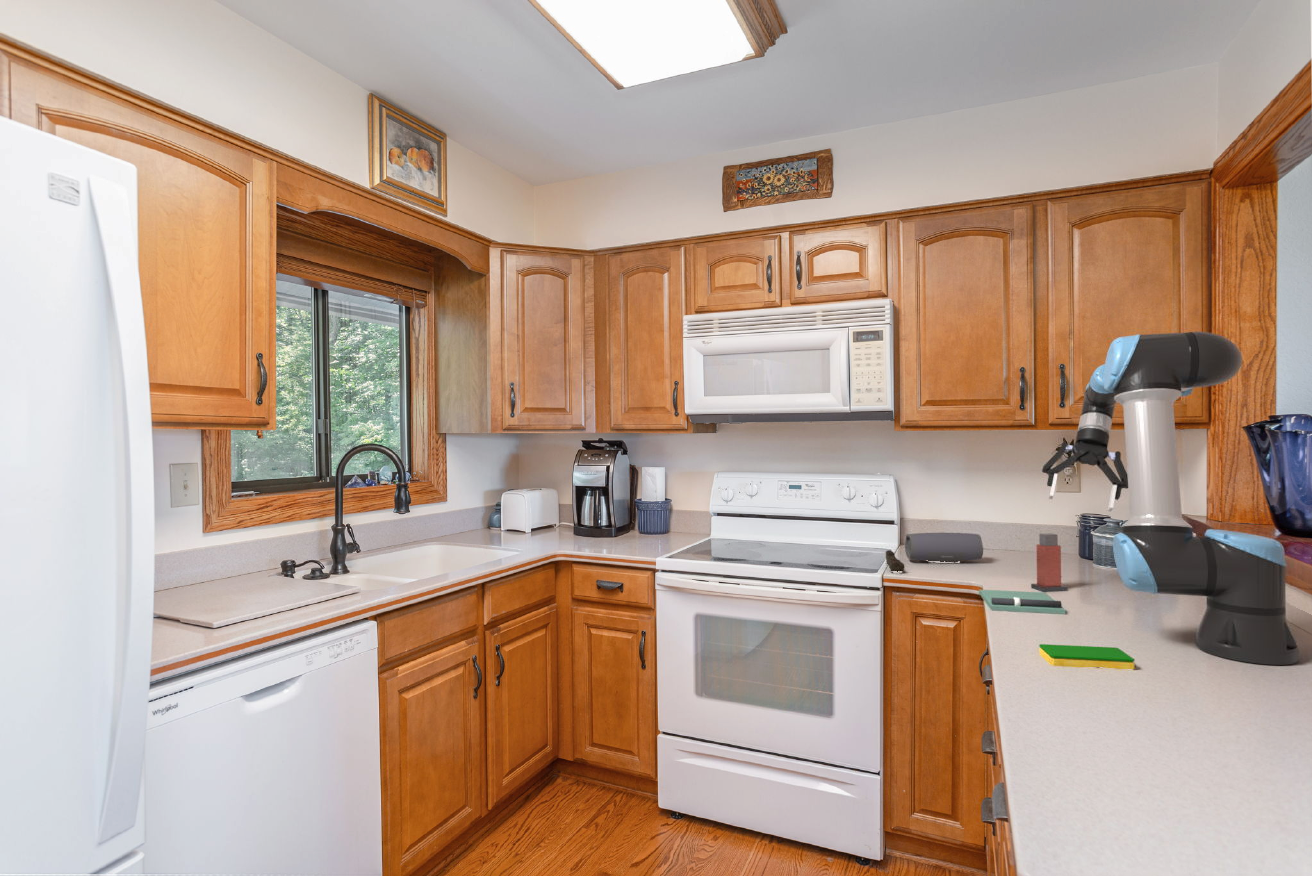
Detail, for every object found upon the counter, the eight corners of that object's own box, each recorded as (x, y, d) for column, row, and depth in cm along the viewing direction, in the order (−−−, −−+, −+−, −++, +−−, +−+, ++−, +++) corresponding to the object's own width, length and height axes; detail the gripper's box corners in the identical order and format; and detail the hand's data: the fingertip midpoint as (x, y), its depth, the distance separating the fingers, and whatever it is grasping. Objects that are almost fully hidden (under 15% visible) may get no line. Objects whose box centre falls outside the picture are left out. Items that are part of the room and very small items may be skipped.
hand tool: (904, 574, 209) (904, 559, 209) (890, 574, 210) (890, 559, 210) (896, 563, 227) (896, 549, 227) (884, 563, 228) (884, 549, 228)
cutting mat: (1065, 614, 161) (1065, 601, 161) (991, 610, 166) (991, 598, 166) (1045, 596, 178) (1045, 585, 178) (978, 593, 183) (978, 582, 183)
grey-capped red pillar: (1067, 590, 184) (1066, 535, 184) (1044, 592, 183) (1043, 536, 183) (1053, 586, 189) (1053, 532, 189) (1031, 588, 188) (1030, 533, 188)
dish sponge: (1135, 672, 123) (1135, 659, 123) (1051, 668, 126) (1051, 655, 126) (1117, 659, 130) (1117, 647, 130) (1038, 655, 133) (1038, 643, 133)
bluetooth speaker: (973, 560, 230) (973, 530, 230) (984, 565, 220) (983, 534, 220) (904, 559, 232) (904, 530, 232) (912, 565, 223) (911, 534, 223)
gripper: (1144, 447, 183) (1133, 519, 177) (1040, 430, 195) (1026, 497, 189) (1151, 435, 177) (1139, 509, 171) (1043, 418, 189) (1028, 487, 182)
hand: (1080, 503), depth 180 cm, fingers open, 13 cm apart
